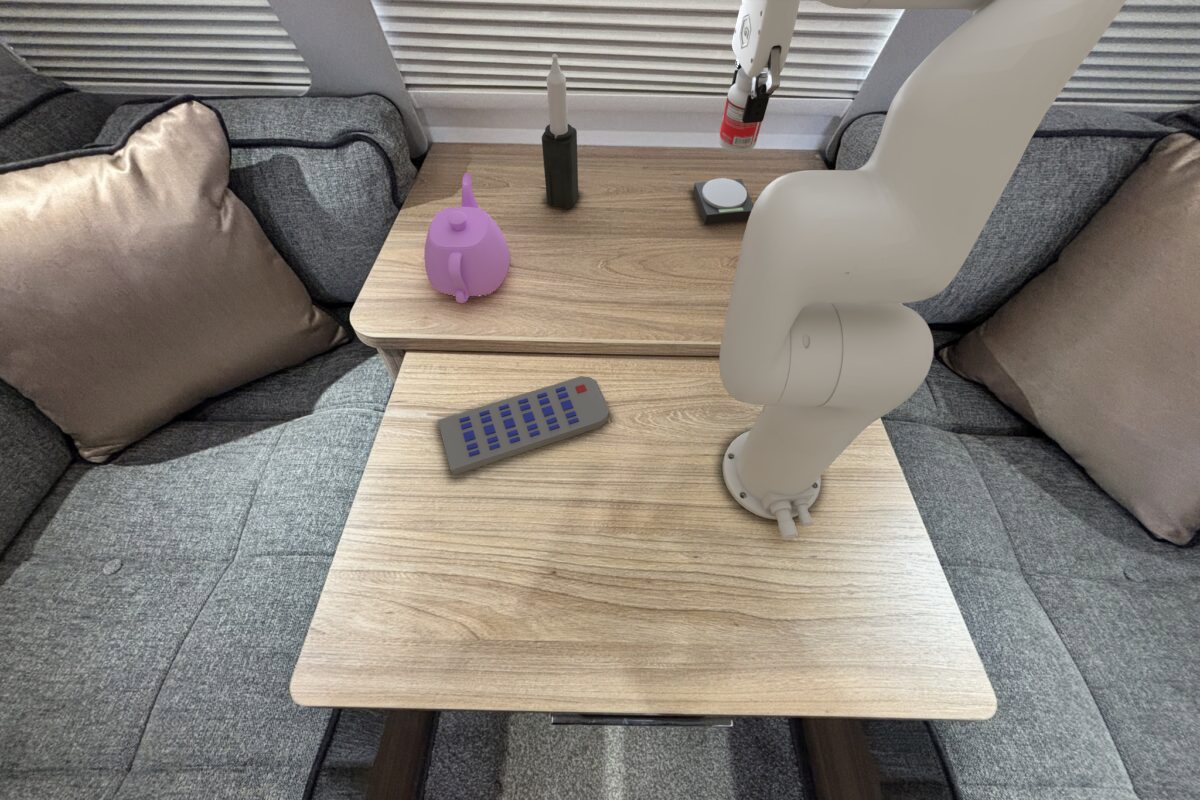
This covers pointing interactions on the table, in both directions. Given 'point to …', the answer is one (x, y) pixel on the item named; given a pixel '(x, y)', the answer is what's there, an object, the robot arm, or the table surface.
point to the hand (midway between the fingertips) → (745, 107)
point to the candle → (559, 144)
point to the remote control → (522, 423)
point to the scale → (723, 201)
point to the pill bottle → (739, 117)
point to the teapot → (465, 249)
